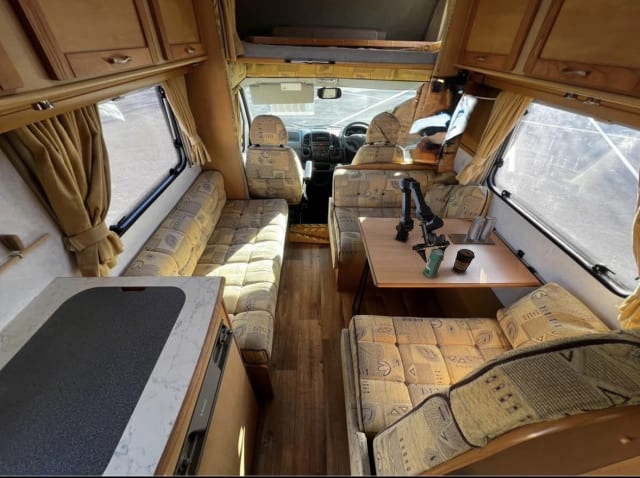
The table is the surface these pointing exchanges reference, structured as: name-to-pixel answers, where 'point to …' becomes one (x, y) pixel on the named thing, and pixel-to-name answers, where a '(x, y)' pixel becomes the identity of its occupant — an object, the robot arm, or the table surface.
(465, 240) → the dark grey flat slab
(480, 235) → the cans
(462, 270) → the coffee cup
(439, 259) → the can
